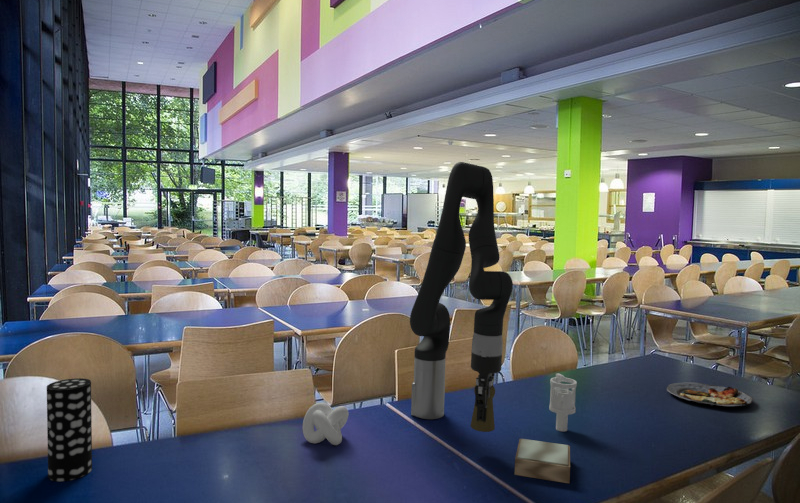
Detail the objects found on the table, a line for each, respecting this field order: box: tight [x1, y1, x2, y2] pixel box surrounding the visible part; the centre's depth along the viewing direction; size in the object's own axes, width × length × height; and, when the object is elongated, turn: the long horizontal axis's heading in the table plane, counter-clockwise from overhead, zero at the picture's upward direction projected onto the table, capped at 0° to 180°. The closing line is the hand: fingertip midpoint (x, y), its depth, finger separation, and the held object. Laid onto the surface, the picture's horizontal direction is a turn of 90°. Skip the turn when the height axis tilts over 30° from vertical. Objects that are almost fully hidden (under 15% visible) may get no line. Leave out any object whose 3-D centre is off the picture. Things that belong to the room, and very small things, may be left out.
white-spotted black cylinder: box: [46, 377, 93, 482], centre depth 118 cm, size 8×8×20 cm
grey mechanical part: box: [548, 372, 578, 432], centre depth 149 cm, size 7×7×15 cm
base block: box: [514, 438, 571, 484], centre depth 125 cm, size 12×12×4 cm
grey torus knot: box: [302, 402, 350, 446], centre depth 138 cm, size 11×12×9 cm
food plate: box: [666, 381, 754, 408], centre depth 179 cm, size 25×23×4 cm
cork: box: [470, 384, 496, 433], centre depth 133 cm, size 6×6×11 cm
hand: (482, 417), depth 133 cm, fingers closed on cork, 4 cm apart
